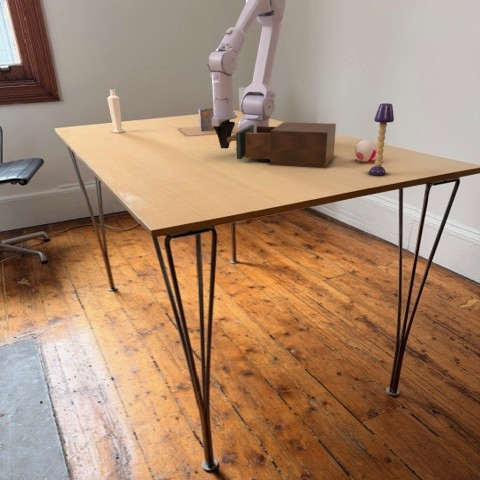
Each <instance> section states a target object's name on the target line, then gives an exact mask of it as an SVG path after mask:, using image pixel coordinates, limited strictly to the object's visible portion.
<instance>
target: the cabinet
mask: <svg viewBox="0 0 480 480" xmlns="http://www.w3.org/2000/svg"><path fill="white" fill-rule="evenodd" d="M336 126H337V124H336V123H326V122H325V123H322V122H292V121H291V122H289V121H285V122H281V123H280V124H278V125H277V126H274V127H275V128H274V129H272V130H271V131H270V133H271V134H270V159H269V165H270V166H289V167H303V168H304V167H305V168H307V167H308V168H326V167H327V166H328V164H329V163H330V162H331V160H332V159H333V158H334V156H335V141H336V128H337V127H336Z"/></svg>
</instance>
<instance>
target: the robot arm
mask: <svg viewBox="0 0 480 480" xmlns="http://www.w3.org/2000/svg"><path fill="white" fill-rule="evenodd" d="M286 3H287V0H245V5H244V6H243V9H242V11H241V13H240V15H239V17H238V19H237V22H236V24H235V25H234V26H231V27H230V28H227V29H226V31H225V34H224V37H223V38H222V40H221V42H220V43H219V45H218V47H217V49H216V50H215V51H212V52H211V53H210V54H209V56H208V58H207V62H206V67H207V70H208V72H209V75H210V79H211V82H212V102H213V103H212V104H213V108H214V115H213V118H212V126H213V128H214V129H215V131H216V133H217V134H216V135H217V139H218V142H219V146H220V149H225V150H226V149H229V148H230V144H231V142H228V141H227V138H228V137H230V136H232V135H233V132H232V130H233V128H234V126H235V125H236V122H235V121H232V120H235V119H237V118H238V114H236V111H234V89H233V88H234V85H233V83H234V81H233V74H234V73H235V71H236V70H237V67H238V59H239V55H240V54H241V52H242V50H243V48H244V47H245V44H246V43H247V37H246V34H247V33H248V31H249V30H250V29H251V27H252V25H253V24H254V22H255V21H257V22H258V23H260V24H261V27H262V28H261V33H260V39H259V43H258V50H257V54H256V60H255V65H254V70H253V77H252V82H251V83H250V84H248V86H247V87H246V88H245V89H244V92H243V95H242V97H241V100H240V104H239V108H240V112H241V114H242V115H243V118H241V117H240V119H239V120H238V124H237V125H238V131H240V130H242V129H244V128H245V127H247V126H249V125H254V133H255V132H257V126H269V125H270V119H271V118H272V116H273V115H274V111H275V107H276V105H275V97H276V93H275V92H274V90H273V89H272V88H271V86H270V84H271V79H272V74H273V69H274V64H275V59H276V54H277V48H278V45H279V39H280V32H281V28H282V22H283V18H284V13H285V8H286ZM269 127H270V126H269Z"/></svg>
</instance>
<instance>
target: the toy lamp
mask: <svg viewBox="0 0 480 480" xmlns="http://www.w3.org/2000/svg"><path fill="white" fill-rule="evenodd" d="M373 121H374V122H376V123H379V126H378V127H379V129H378V136H377V143H376V148H377V150H376V156H375V160H374V166H371V168H370V169H369V170H368V174H369V175H370V176H384V175H386V174H387V172H386V169H385V167H383V166H382V165H383V157H384V156H383V155H384V151H385V150H384V147H385V140H386V133H387V126H388V124H389V123H394V122H395V115H394V108H393V104H392V103H389V102H387V103H386V102H385V103H384V102H383V103H380V104H379V105H378V108H377V110H376V113H375V116H374V120H373Z"/></svg>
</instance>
